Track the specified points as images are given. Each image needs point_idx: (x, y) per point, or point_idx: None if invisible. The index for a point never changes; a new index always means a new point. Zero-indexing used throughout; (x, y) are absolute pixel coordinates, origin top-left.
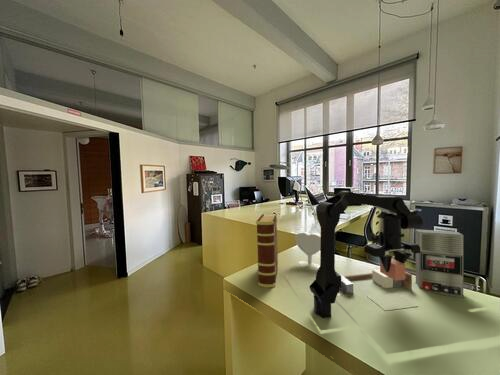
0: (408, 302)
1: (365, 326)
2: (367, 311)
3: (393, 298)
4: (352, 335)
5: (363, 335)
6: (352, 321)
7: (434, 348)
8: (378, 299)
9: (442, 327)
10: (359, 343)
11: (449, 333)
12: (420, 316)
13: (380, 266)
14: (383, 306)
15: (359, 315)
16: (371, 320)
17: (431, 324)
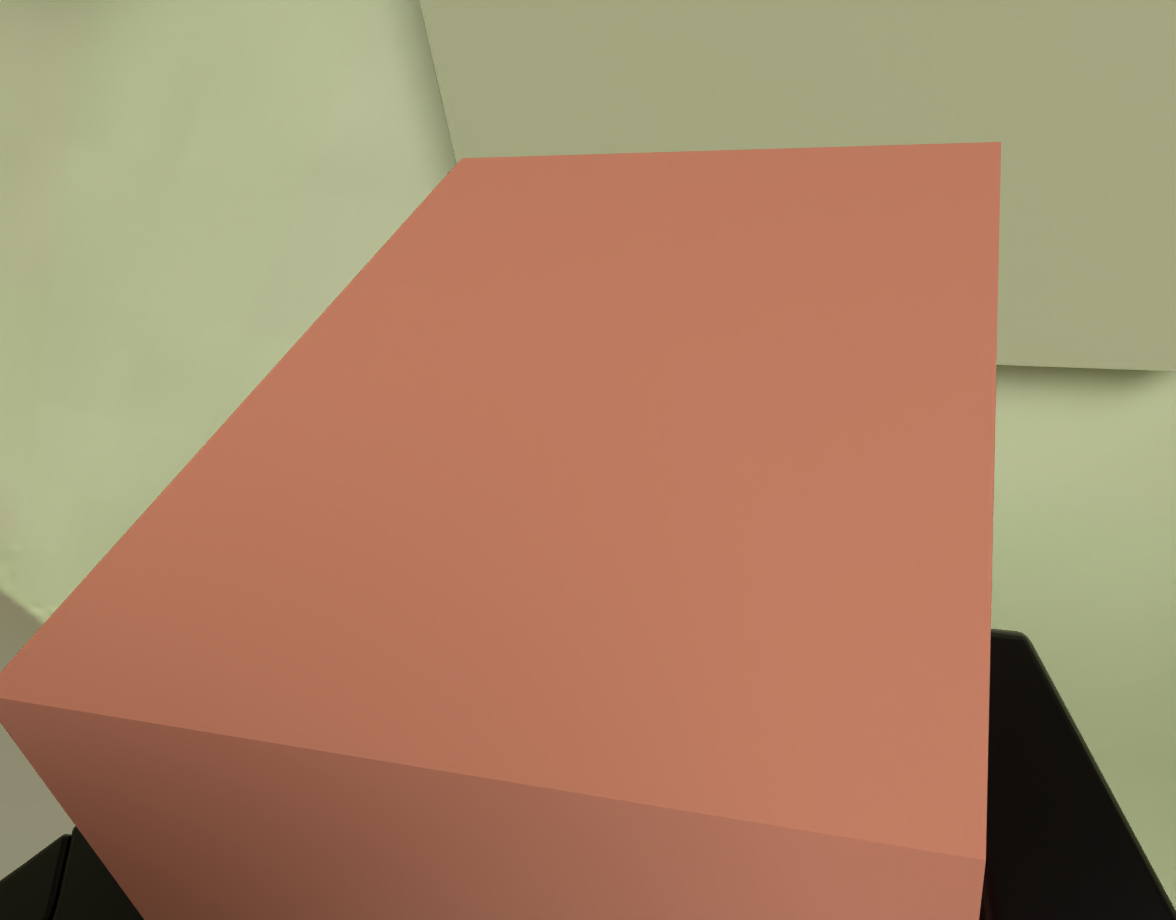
0: (1166, 233)
1: (182, 418)
2: (298, 178)
3: (957, 37)
4: (34, 482)
5: (132, 505)
6: (56, 322)
7: None
8: (571, 25)
9: (1128, 643)
10: (81, 559)
11: (1084, 712)
12: (1072, 435)
13: (340, 326)
14: None
15: (159, 240)
16: (283, 354)
17: (1039, 578)
